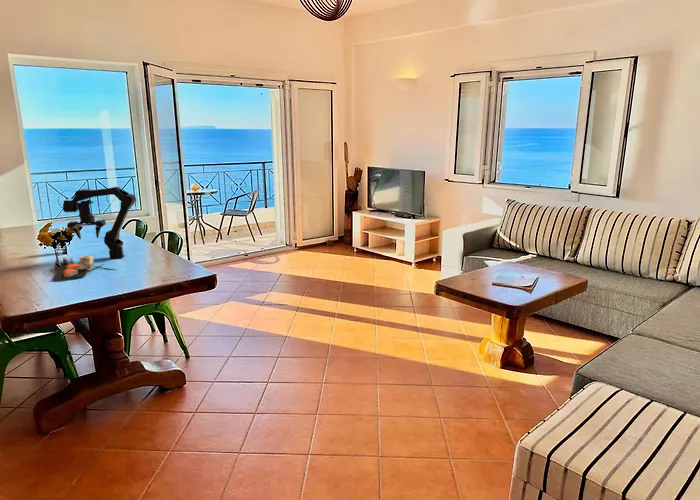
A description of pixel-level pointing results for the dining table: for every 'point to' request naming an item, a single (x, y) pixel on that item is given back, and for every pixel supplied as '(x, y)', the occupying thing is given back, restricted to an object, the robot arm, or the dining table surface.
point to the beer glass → (57, 230)
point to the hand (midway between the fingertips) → (89, 238)
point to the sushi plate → (72, 271)
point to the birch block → (86, 262)
